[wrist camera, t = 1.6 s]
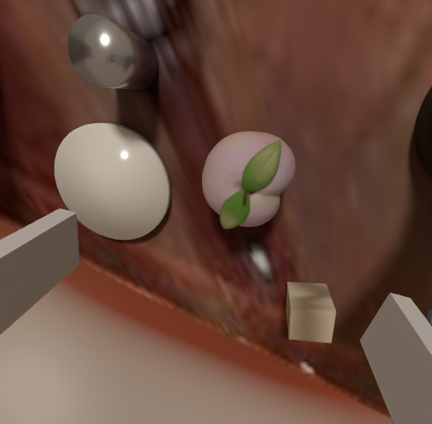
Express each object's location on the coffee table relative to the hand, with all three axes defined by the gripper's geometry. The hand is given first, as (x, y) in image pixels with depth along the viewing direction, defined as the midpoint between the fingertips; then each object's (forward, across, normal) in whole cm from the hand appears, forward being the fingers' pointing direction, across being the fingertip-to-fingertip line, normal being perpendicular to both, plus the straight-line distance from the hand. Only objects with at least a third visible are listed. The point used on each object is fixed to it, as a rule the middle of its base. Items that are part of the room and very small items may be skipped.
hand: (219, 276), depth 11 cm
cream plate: (+20, +16, +6) cm, 26 cm away
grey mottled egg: (+20, +14, -8) cm, 26 cm away
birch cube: (+20, -12, +16) cm, 29 cm away
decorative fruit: (+20, 0, 0) cm, 20 cm away
